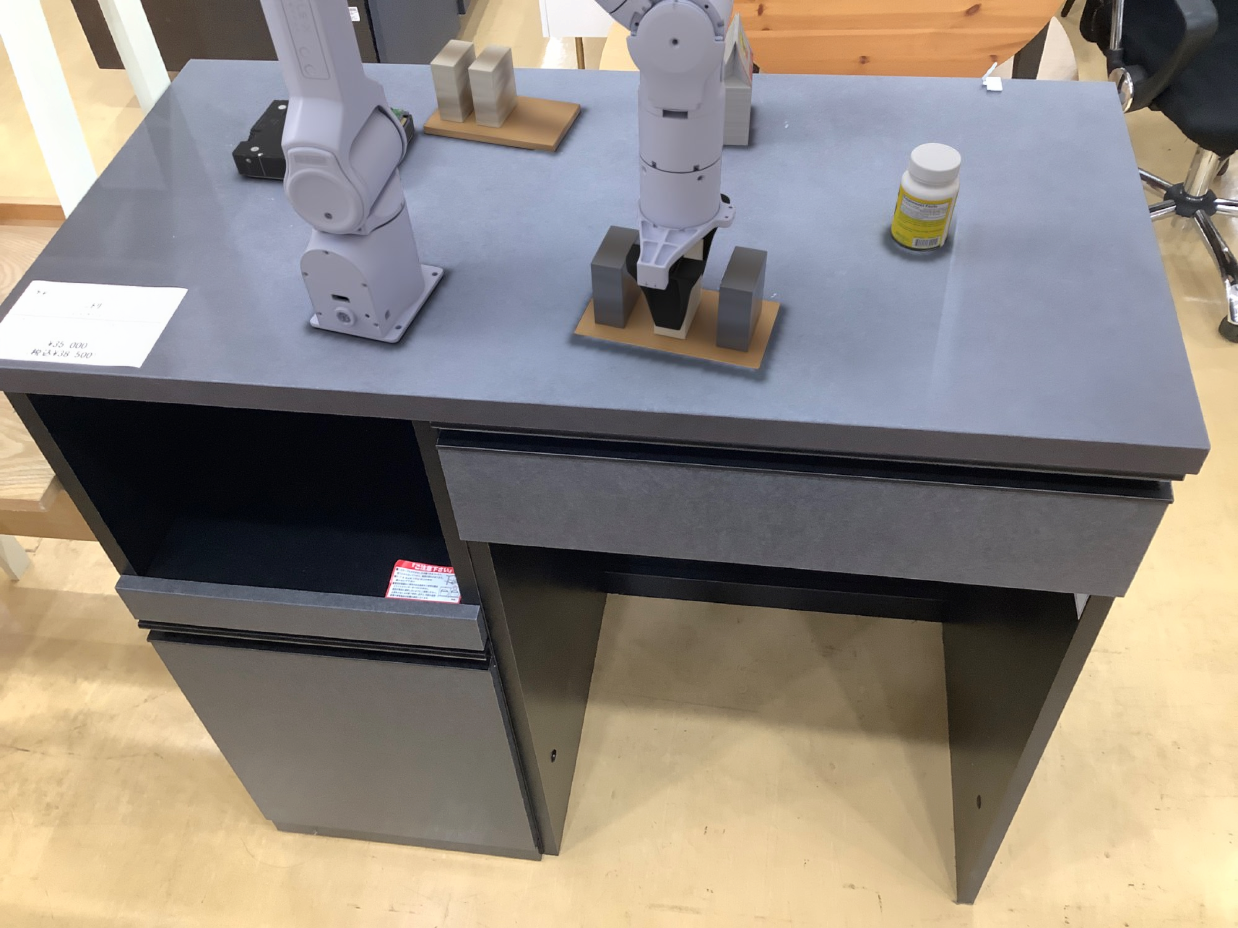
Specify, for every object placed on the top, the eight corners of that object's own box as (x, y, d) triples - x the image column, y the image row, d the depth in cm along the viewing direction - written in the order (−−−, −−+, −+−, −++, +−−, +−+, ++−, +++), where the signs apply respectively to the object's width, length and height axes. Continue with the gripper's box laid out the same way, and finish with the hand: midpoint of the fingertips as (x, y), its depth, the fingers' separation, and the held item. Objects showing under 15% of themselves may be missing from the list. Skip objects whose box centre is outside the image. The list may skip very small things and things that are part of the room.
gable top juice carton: (709, 144, 96) (714, 45, 89) (713, 108, 101) (717, 10, 93) (747, 145, 96) (755, 46, 89) (749, 109, 100) (756, 11, 93)
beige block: (684, 339, 77) (686, 279, 72) (654, 334, 78) (653, 273, 73) (701, 299, 80) (703, 239, 76) (671, 294, 81) (672, 233, 76)
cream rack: (553, 153, 96) (547, 87, 91) (424, 133, 100) (411, 69, 94) (580, 111, 101) (576, 47, 96) (456, 93, 104) (445, 30, 99)
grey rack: (758, 376, 75) (765, 308, 70) (574, 340, 79) (567, 272, 74) (779, 310, 80) (787, 241, 75) (605, 278, 84) (601, 211, 78)
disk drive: (239, 180, 95) (384, 189, 93) (229, 155, 93) (377, 163, 91) (280, 123, 102) (417, 130, 100) (272, 98, 100) (411, 105, 98)
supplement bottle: (909, 218, 88) (929, 133, 81) (955, 240, 85) (979, 154, 79) (877, 242, 86) (894, 157, 79) (923, 266, 83) (945, 180, 77)
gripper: (710, 220, 62) (703, 374, 72) (761, 104, 71) (748, 256, 81) (604, 203, 64) (612, 356, 74) (667, 91, 73) (666, 242, 83)
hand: (678, 303), depth 78 cm, fingers closed on beige block, 5 cm apart
